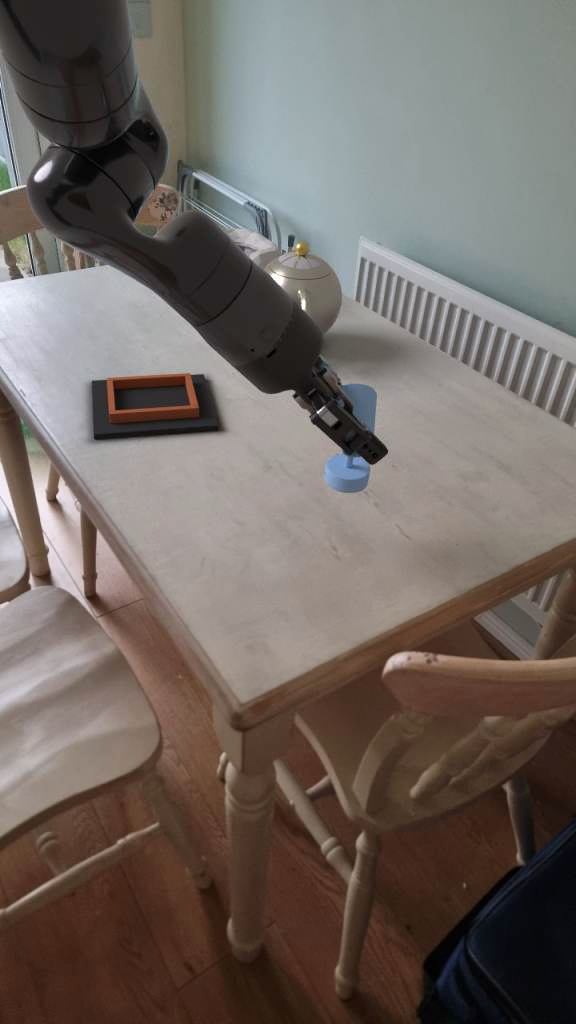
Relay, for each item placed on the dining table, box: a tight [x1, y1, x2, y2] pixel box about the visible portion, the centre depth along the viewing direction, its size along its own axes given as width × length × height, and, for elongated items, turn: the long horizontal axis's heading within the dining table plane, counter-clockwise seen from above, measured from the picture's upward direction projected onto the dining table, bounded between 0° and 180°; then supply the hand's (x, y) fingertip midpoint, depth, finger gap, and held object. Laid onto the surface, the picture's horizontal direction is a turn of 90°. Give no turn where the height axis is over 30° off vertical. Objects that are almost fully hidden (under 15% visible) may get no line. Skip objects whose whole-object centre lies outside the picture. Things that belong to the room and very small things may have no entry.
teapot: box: [264, 241, 343, 336], centre depth 107 cm, size 18×14×16 cm
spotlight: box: [323, 383, 378, 494], centre depth 68 cm, size 5×10×7 cm
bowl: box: [219, 225, 283, 270], centre depth 123 cm, size 21×20×10 cm
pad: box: [91, 372, 219, 440], centre depth 95 cm, size 16×14×2 cm
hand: (367, 434), depth 68 cm, fingers closed on spotlight, 7 cm apart
